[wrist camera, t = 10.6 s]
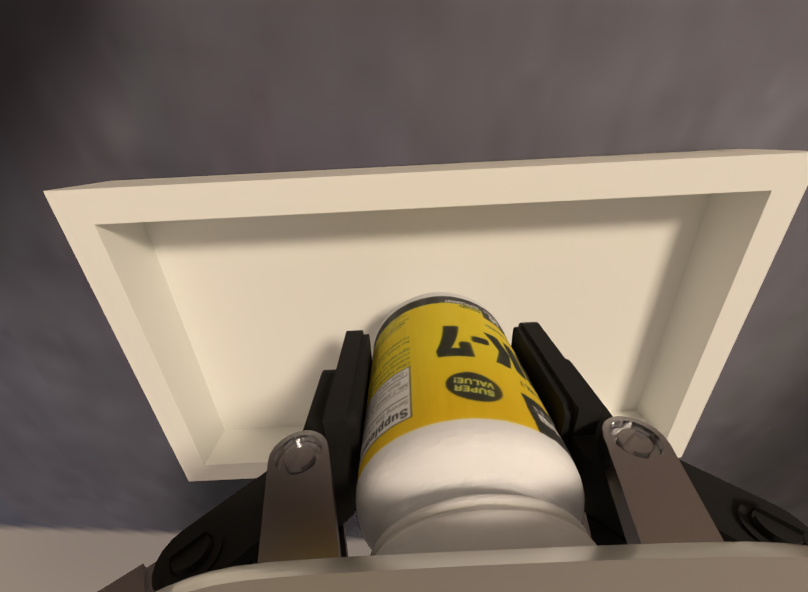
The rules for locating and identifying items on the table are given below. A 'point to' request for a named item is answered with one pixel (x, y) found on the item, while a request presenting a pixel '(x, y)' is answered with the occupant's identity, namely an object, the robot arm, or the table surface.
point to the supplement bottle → (459, 440)
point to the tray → (427, 277)
